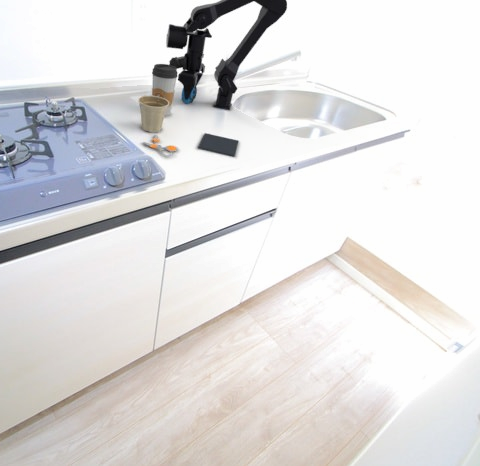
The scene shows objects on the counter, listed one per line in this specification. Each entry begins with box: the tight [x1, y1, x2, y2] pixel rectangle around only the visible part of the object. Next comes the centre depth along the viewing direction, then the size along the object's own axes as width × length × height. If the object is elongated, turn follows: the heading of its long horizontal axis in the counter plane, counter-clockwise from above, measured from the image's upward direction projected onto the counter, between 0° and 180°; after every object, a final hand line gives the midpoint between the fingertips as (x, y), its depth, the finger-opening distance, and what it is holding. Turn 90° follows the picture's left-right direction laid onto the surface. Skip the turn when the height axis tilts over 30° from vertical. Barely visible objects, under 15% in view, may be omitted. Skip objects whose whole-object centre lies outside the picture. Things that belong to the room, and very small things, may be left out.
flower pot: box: [137, 95, 169, 133], centre depth 101 cm, size 9×9×9 cm
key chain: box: [142, 134, 178, 157], centre depth 95 cm, size 13×7×1 cm, turn 39°
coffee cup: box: [151, 63, 178, 118], centre depth 110 cm, size 8×8×15 cm
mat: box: [197, 132, 239, 157], centre depth 100 cm, size 11×11×1 cm
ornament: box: [180, 85, 198, 104], centre depth 123 cm, size 8×5×10 cm, turn 150°
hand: (188, 96), depth 124 cm, fingers closed on ornament, 8 cm apart
